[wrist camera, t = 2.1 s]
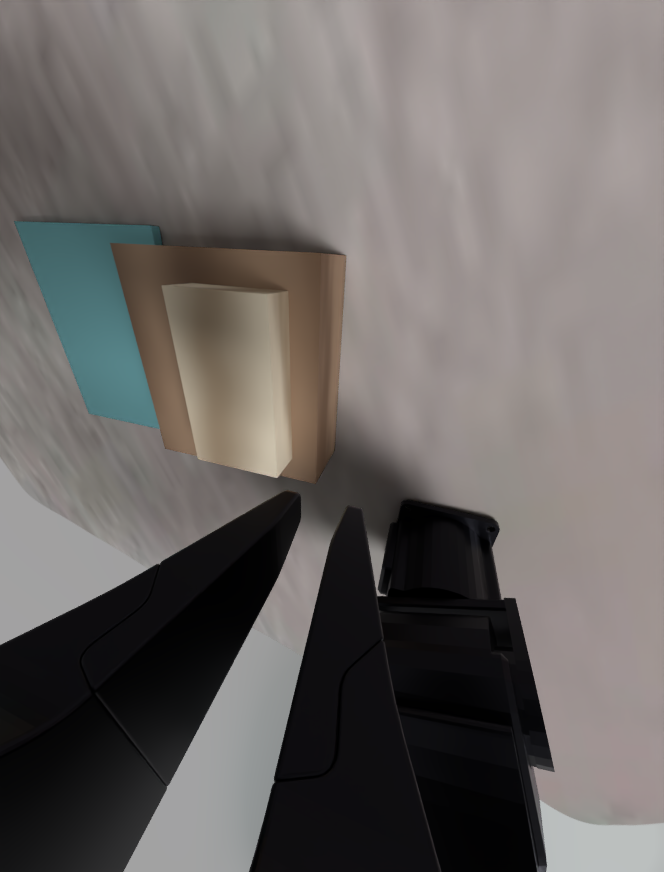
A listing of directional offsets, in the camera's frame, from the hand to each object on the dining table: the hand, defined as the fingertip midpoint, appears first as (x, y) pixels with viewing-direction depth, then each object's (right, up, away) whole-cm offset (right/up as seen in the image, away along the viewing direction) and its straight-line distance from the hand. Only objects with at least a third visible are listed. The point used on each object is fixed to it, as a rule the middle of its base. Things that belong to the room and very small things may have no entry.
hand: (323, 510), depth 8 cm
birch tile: (-4, +5, +8) cm, 11 cm away
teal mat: (-16, +9, +15) cm, 23 cm away
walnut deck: (-5, +7, +12) cm, 15 cm away
